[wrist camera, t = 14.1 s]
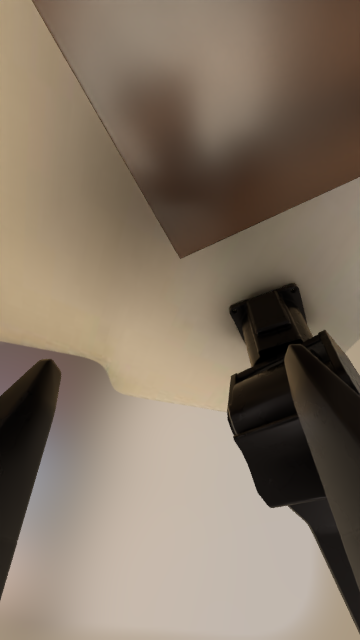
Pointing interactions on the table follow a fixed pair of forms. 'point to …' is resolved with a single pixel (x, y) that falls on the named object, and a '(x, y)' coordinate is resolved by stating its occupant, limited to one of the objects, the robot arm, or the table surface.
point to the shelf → (220, 102)
